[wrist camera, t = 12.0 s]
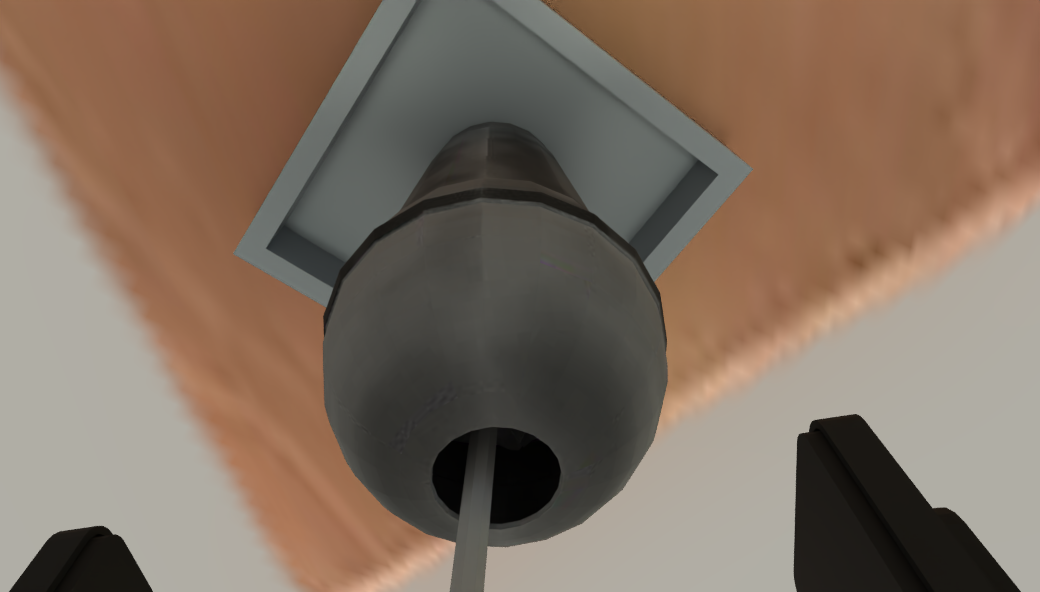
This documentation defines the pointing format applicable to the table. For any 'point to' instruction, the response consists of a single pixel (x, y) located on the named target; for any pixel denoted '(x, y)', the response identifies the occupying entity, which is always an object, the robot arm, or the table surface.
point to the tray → (475, 100)
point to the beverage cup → (494, 352)
